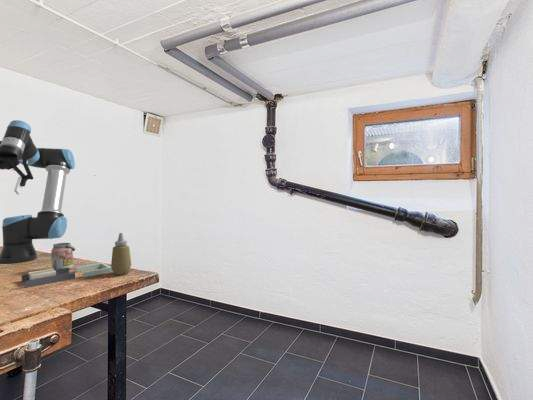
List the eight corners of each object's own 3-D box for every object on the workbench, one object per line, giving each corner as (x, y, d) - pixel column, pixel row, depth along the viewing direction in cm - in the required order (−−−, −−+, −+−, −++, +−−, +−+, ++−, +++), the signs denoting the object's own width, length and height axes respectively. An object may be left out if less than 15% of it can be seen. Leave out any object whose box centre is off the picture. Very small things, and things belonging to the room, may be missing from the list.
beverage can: (64, 266, 139) (64, 241, 139) (79, 267, 138) (79, 242, 137) (46, 271, 130) (46, 245, 130) (62, 272, 129) (61, 246, 128)
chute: (21, 281, 116) (21, 275, 116) (68, 273, 128) (68, 267, 128) (25, 287, 109) (25, 281, 109) (75, 278, 121) (75, 272, 120)
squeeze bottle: (127, 270, 133) (127, 231, 133) (134, 273, 128) (133, 233, 127) (108, 273, 128) (107, 233, 127) (114, 277, 122) (113, 235, 121)
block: (28, 282, 116) (28, 272, 116) (53, 277, 122) (53, 268, 122) (31, 285, 112) (30, 275, 112) (56, 281, 118) (56, 271, 118)
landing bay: (75, 271, 131) (75, 267, 131) (103, 266, 139) (102, 262, 139) (83, 277, 122) (83, 272, 122) (112, 271, 130) (112, 267, 130)
